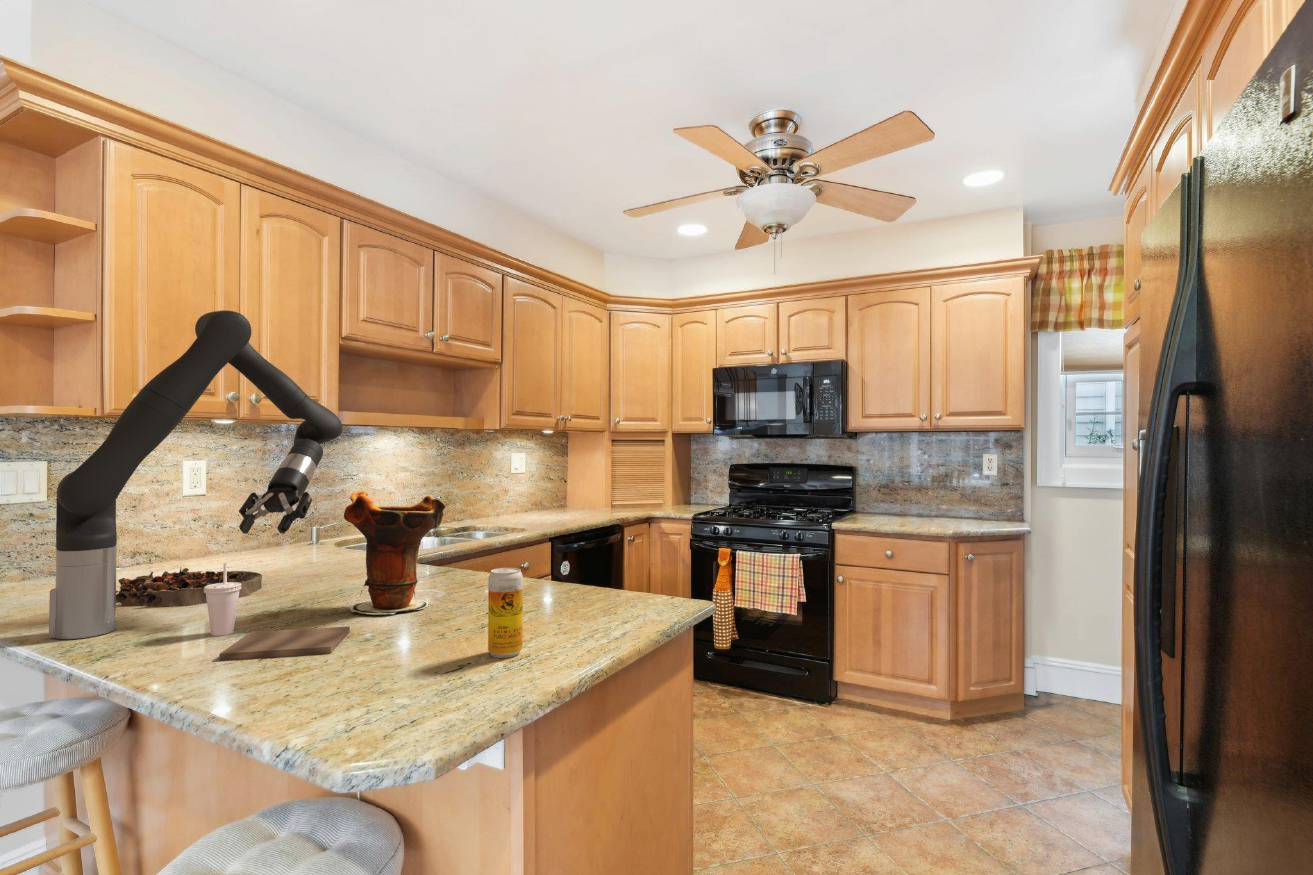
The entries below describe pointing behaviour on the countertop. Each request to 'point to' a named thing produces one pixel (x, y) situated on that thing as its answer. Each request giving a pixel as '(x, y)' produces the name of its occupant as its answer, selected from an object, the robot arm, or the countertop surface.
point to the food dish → (181, 587)
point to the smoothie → (222, 605)
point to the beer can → (505, 612)
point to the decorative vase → (392, 550)
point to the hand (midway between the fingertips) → (261, 531)
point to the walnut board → (286, 643)
